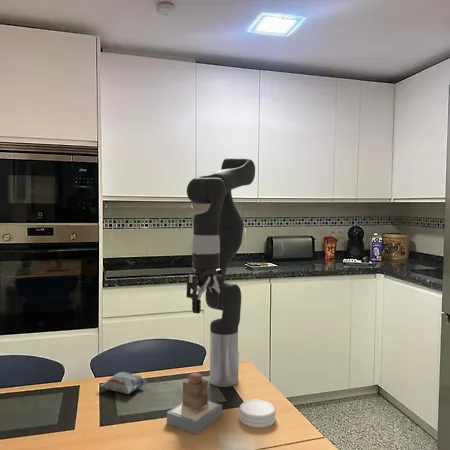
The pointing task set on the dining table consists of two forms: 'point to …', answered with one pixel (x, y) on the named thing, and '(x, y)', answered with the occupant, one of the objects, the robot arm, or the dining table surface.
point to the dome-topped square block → (195, 394)
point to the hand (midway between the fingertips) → (205, 309)
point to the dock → (194, 417)
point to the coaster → (257, 413)
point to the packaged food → (124, 382)
